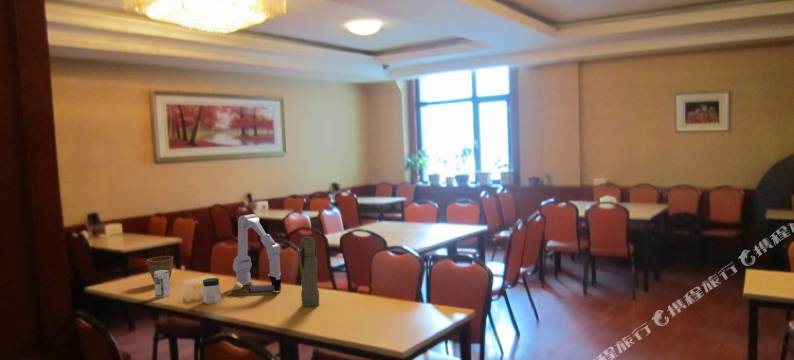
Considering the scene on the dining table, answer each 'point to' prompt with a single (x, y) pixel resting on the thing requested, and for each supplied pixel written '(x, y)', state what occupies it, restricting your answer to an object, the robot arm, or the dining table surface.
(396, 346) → the dining table surface
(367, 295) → the dining table surface
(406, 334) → the dining table surface
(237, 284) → the spacer
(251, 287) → the shaft
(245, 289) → the bearing block
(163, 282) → the syrup box
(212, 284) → the jar
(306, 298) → the thermos
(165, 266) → the plant pot
